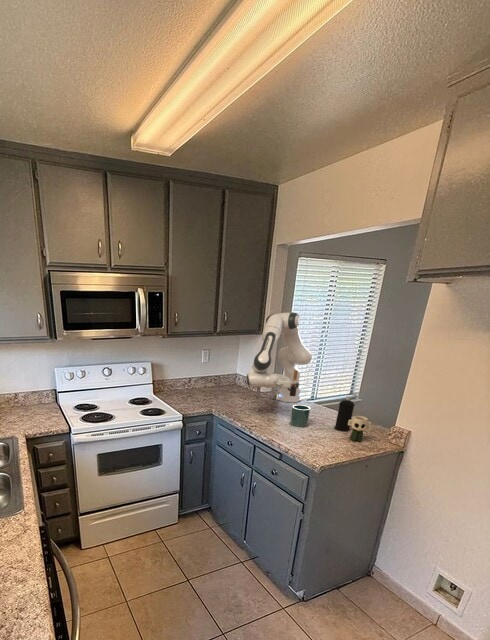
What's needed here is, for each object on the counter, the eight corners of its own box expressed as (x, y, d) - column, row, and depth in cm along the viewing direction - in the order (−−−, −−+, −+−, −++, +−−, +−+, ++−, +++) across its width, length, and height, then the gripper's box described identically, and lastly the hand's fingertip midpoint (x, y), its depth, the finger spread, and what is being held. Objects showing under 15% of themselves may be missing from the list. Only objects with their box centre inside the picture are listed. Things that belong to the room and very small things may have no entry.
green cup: (288, 421, 227) (291, 404, 223) (305, 421, 225) (307, 405, 221) (291, 426, 217) (294, 409, 213) (309, 427, 216) (312, 410, 212)
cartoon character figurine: (345, 440, 197) (350, 418, 192) (344, 436, 203) (348, 414, 198) (367, 443, 193) (372, 420, 188) (365, 438, 199) (370, 416, 194)
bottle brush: (289, 394, 226) (292, 369, 220) (294, 394, 225) (298, 369, 219) (290, 396, 222) (293, 370, 217) (296, 396, 222) (299, 370, 216)
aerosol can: (352, 430, 211) (359, 398, 204) (341, 432, 209) (347, 399, 202) (342, 426, 219) (348, 394, 211) (331, 427, 216) (337, 395, 209)
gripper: (276, 379, 211) (300, 380, 210) (271, 372, 230) (293, 373, 229) (275, 389, 214) (298, 390, 212) (270, 381, 233) (292, 382, 231)
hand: (296, 381), depth 220 cm, fingers closed on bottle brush, 2 cm apart
